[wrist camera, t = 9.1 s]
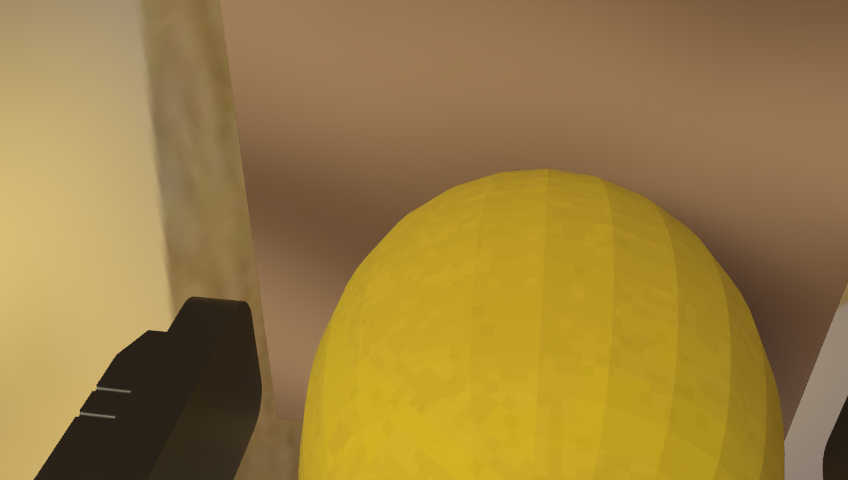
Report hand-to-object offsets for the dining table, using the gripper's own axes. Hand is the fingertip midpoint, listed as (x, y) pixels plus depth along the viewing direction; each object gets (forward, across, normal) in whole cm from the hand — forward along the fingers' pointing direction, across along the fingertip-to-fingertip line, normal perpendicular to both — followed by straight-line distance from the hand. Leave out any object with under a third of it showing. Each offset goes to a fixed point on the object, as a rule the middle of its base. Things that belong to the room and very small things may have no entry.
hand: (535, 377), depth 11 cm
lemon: (+3, 0, 0) cm, 3 cm away
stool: (+11, 0, 0) cm, 11 cm away
